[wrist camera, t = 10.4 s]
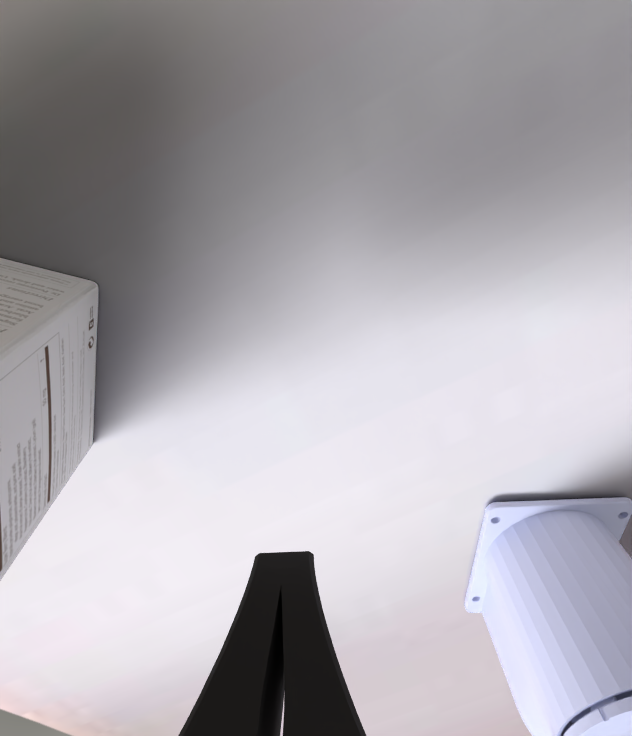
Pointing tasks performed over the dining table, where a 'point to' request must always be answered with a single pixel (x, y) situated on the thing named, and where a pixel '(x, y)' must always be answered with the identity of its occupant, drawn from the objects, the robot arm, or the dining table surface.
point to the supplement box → (42, 392)
